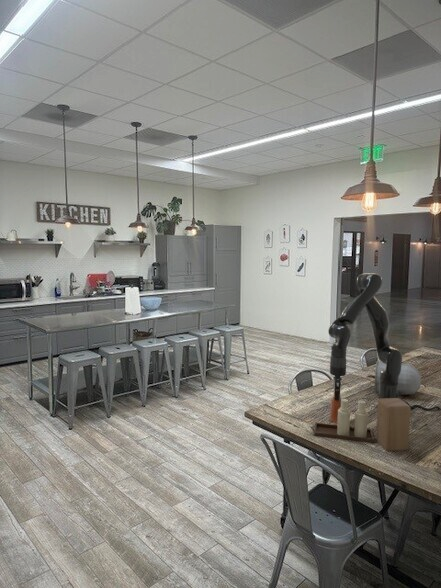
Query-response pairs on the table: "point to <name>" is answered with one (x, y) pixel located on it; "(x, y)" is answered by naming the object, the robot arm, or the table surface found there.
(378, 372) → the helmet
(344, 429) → the cream bottle
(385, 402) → the wooden block
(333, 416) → the terracotta bottle
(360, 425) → the cream bottle
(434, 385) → the table surface
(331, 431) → the tray
